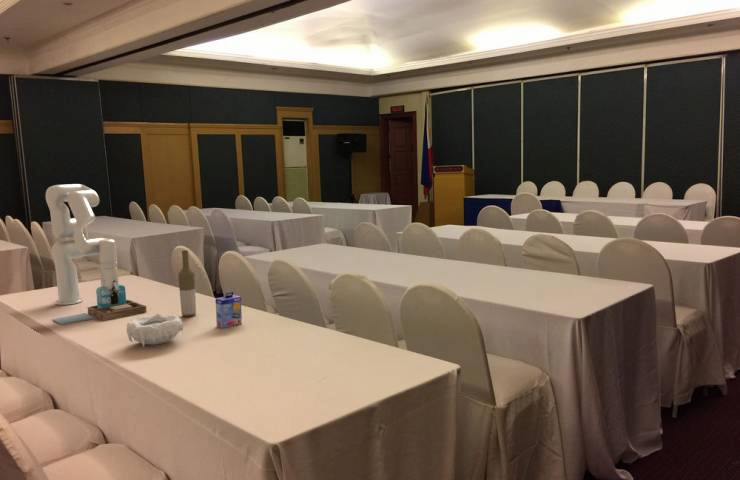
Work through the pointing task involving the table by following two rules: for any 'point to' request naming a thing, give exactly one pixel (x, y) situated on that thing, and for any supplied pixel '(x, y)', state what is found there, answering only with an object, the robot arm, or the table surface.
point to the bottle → (187, 288)
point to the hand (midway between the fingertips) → (111, 302)
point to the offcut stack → (119, 308)
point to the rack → (103, 315)
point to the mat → (73, 319)
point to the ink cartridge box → (228, 310)
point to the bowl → (154, 328)
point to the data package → (105, 297)
